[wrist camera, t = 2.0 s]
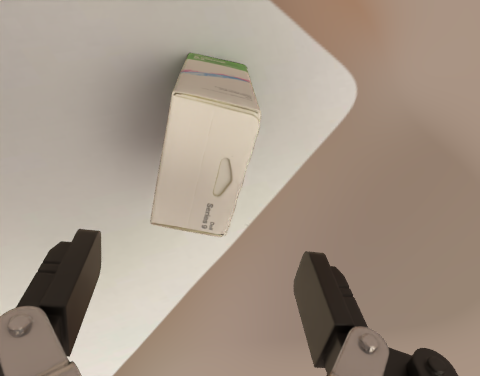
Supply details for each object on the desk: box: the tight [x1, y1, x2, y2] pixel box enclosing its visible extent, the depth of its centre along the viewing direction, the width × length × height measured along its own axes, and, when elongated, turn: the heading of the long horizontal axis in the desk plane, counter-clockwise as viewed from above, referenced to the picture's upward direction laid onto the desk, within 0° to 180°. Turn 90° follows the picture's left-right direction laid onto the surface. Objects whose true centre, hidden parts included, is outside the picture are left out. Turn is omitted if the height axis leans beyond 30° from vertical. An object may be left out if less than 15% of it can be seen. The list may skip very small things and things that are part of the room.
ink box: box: [150, 53, 261, 237], centre depth 25 cm, size 9×5×12 cm, turn 166°
